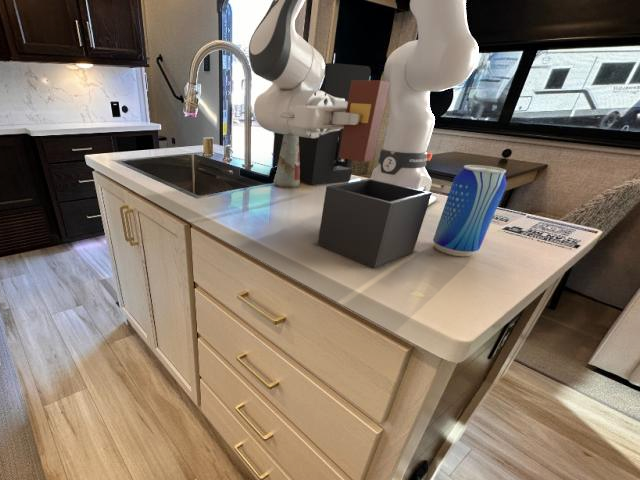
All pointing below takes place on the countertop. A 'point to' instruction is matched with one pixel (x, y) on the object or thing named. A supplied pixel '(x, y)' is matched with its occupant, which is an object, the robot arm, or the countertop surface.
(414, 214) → the bin
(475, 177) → the beer can
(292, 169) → the bottle
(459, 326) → the countertop surface
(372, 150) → the packet
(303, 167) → the coffee maker
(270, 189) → the countertop surface
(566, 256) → the countertop surface
